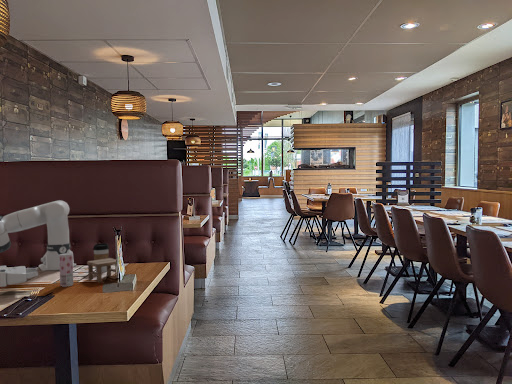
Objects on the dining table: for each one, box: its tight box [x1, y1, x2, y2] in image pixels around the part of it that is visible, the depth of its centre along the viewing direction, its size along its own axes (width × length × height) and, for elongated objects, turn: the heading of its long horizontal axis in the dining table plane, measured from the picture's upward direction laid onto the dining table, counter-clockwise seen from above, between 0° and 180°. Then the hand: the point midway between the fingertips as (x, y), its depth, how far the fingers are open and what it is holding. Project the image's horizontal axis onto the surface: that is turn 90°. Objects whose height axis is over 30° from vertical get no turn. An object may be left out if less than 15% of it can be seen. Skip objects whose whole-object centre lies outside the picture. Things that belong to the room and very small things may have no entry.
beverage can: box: [59, 253, 74, 288], centre depth 189 cm, size 6×6×15 cm
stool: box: [86, 257, 117, 284], centre depth 201 cm, size 12×12×9 cm
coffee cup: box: [92, 242, 110, 273], centre depth 219 cm, size 8×8×15 cm
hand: (37, 271), depth 183 cm, fingers open, 8 cm apart
